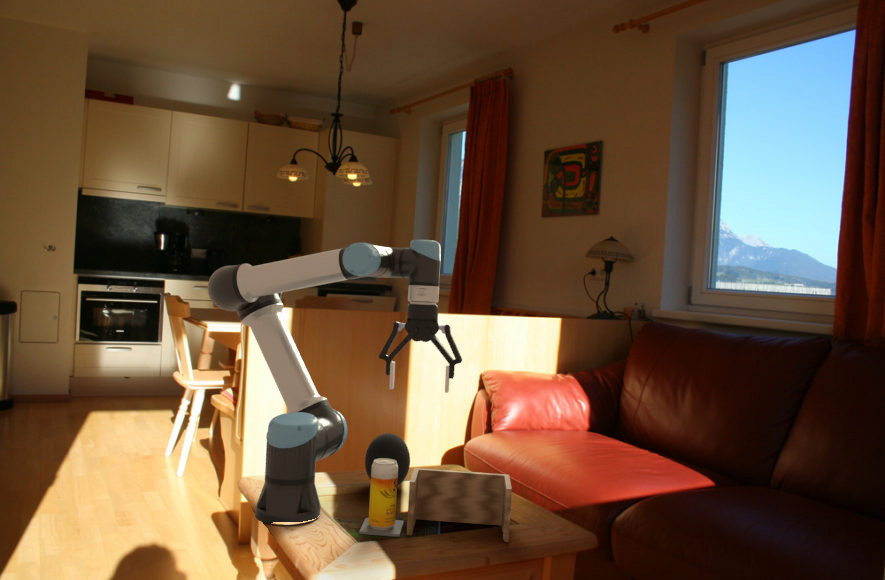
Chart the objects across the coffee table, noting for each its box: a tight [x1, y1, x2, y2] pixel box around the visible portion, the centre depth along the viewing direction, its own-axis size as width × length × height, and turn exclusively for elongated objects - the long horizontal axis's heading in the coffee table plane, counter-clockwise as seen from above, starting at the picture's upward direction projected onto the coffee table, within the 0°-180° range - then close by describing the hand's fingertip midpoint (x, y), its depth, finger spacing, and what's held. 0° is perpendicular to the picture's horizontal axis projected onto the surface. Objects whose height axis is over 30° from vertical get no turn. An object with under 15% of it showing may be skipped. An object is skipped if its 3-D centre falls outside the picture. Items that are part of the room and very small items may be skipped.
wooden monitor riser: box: [406, 467, 513, 541], centre depth 161 cm, size 23×12×12 cm, turn 87°
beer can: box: [368, 458, 398, 530], centre depth 158 cm, size 6×6×15 cm
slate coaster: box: [358, 517, 404, 538], centre depth 159 cm, size 9×9×1 cm
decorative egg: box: [364, 432, 411, 487], centre depth 190 cm, size 12×12×15 cm
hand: (419, 390), depth 169 cm, fingers open, 13 cm apart
